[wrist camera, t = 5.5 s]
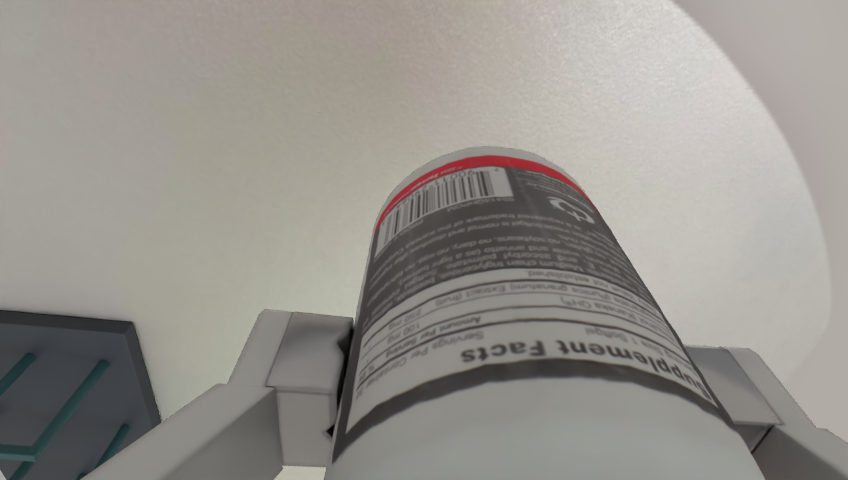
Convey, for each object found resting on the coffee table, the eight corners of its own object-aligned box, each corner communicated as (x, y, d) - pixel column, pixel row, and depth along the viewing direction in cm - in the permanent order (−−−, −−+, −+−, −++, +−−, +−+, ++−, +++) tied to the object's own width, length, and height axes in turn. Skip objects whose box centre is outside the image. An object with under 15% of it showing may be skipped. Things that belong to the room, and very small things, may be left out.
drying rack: (-78, 302, 32) (-224, 406, 25) (133, 322, 33) (49, 428, 26) (21, 475, 43) (-63, 583, 36) (179, 487, 44) (129, 596, 36)
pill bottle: (558, 339, 13) (774, 1014, 5) (363, 316, 13) (242, 1003, 5) (631, 157, 10) (1442, 1032, 2) (383, 120, 10) (159, 1009, 2)
